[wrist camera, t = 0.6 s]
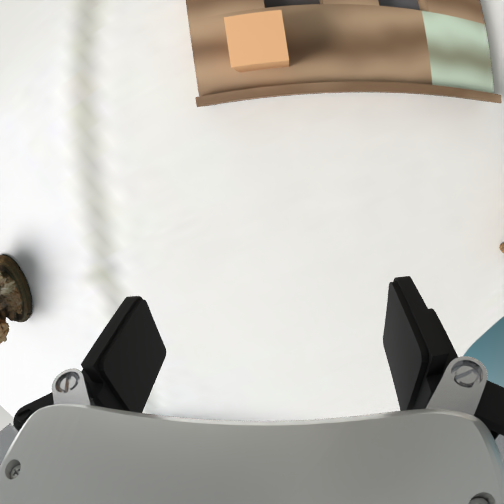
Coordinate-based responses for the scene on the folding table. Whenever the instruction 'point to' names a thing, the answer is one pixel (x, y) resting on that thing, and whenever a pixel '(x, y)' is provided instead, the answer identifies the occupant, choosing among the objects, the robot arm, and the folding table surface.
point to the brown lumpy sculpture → (12, 295)
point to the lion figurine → (502, 247)
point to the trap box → (350, 49)
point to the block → (256, 41)
